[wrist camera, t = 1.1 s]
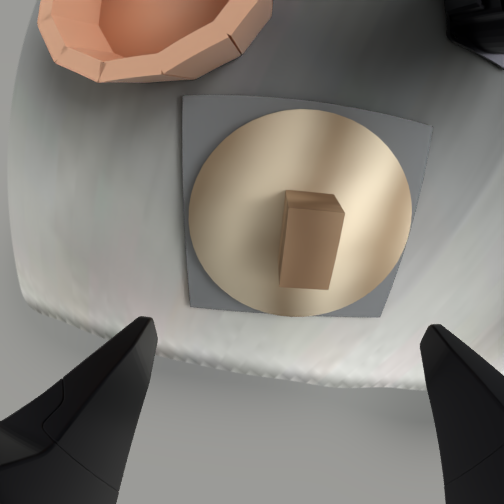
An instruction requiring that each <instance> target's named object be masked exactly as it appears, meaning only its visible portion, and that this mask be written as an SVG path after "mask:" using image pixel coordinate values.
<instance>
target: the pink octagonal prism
mask: <svg viewBox="0 0 504 504" xmlns="http://www.w3.org/2000/svg"><path fill="white" fill-rule="evenodd" d="M272 7H273V0H41V2H40V8H39V15H38V22H37V24H38V28H39V30H40V32H41V34H42V37H43V39H44V41H45V43H46V46H47V48H48V50H49V52H50V54H51V56H52V58H53V61H54V62H56V64H58V65H60V66H62V67H65V68H67V69H69V70H72V71H74V72H76V73H78V74H80V75H83V76H85V77H87V78H89V79H91V80H93V81H95V82H99V83H106V82H135V83H151V82H163V81H178V80H194V79H197V78H199V77H201V76H203V75H204V74H206V73H208V72H210V71H212V70H214V69H216V68H218V67H220V66H221V65H223V64H225V63H227V62H229V61H231V60H233V59H236V58H238V57H240V56H241V54H243V53H244V52H245V51H246V49H247V48H248V47H249V45H250V44H251V43H252V41H253V40H254V39H255V37H256V36H257V35H258V33H259V32H260V31H261V30H262V28H263V27H264V26H265V25H266V23H267V22H268V21H269V19H270V18H271V16H272ZM240 53H241V54H240Z"/></svg>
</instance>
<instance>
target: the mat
mask: <svg viewBox="0 0 504 504" xmlns="http://www.w3.org/2000/svg"><path fill="white" fill-rule="evenodd" d="M293 109H312V110H320V111H325V112H330V113H334V114H337V115H340V116H343V117H346V118H348V119H351V120H353V121H355V122H357V123H359V124H360V125H362V126H364V127H366V128H367V129H368V130H370V131H371V132H372V133H374V134H375V135H376V136H378V137H379V138H380V139H381V140H382V141H383V142H384V143H385V144H386V145H387V146H388V147H389V149H390V150H391V151H392V153H393V154H394V156H395V157H396V158H397V160H398V162H399V164H400V166H401V167H402V169H403V171H404V174H405V177H406V179H407V182H408V185H409V190H410V195H411V205H412V217H411V226H412V223H413V219H414V215H415V212H416V208H417V204H418V200H419V196H420V192H421V187H422V183H423V179H424V174H425V169H426V164H427V159H428V154H429V148H430V143H431V137H432V130H433V126H430V125H426V124H423V123H419V122H416V121H412V120H408V119H404V118H400V117H396V116H392V115H388V114H383V113H379V112H374V111H369V110H364V109H359V108H354V107H348V106H342V105H336V104H329V103H322V102H315V101H307V100H298V99H288V98H277V97H264V96H245V95H183V107H182V166H183V202H184V225H185V243H186V258H187V272H188V284H189V296H190V307H196V308H206V309H216V310H228V311H240V312H254V313H265V312H262V311H259V310H256V309H253V308H251V307H249V306H247V305H245V304H242V303H241V302H239V301H237V300H236V299H234V298H232V297H231V296H230V295H228V294H227V293H226V292H225V291H223V290H222V289H221V288H220V287H219V286H218V285H217V284H216V283H215V282H214V281H213V280H212V279H211V277H210V276H209V275H208V274H207V272H206V271H205V270H204V268H203V266H202V264H201V263H200V261H199V259H198V257H197V255H196V252H195V250H194V247H193V244H192V240H191V236H190V230H189V204H190V198H191V193H192V190H193V187H194V184H195V181H196V178H197V176H198V174H199V172H200V170H201V168H202V166H203V164H204V163H205V162H206V160H207V159H208V157H209V156H210V155H211V153H212V152H213V151H214V150H215V149H216V148H217V146H218V145H219V144H220V143H221V142H222V141H223V140H224V139H225V138H226V137H228V136H229V135H230V134H231V133H233V132H234V131H235V130H237V129H238V128H240V127H241V126H243V125H245V124H247V123H248V122H250V121H252V120H254V119H257V118H259V117H262V116H264V115H267V114H271V113H275V112H279V111H283V110H293ZM411 226H410V230H411ZM409 233H410V231H409ZM408 237H409V235H408ZM407 240H408V239H407ZM406 243H407V242H406ZM405 246H406V245H405ZM404 250H405V247H404ZM404 250H403V252H402V254H401V256H400V258H399V260H398V262H397V263H396V265H395V266H394V268H393V269H392V270H391V272H390V273H389V274H388V275H387V277H386V278H385V279H384V280H383V281H382V282H381V283H380V284H379V285H378V286H377V287H376V288H375V289H373V290H372V291H371V292H370V293H368V294H367V295H365V296H364V297H363V298H361V299H359V300H357V301H356V302H354V303H352V304H350V305H348V306H346V307H343V308H341V309H338V310H335V311H332V312H329V313H325V314H320V315H314V316H331V317H380V316H381V314H382V311H383V309H384V306H385V304H386V301H387V298H388V296H389V293H390V290H391V288H392V285H393V282H394V279H395V277H396V274H397V271H398V268H399V265H400V262H401V259H402V256H403V253H404ZM268 314H269V313H268Z"/></svg>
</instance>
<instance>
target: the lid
mask: <svg viewBox="0 0 504 504" xmlns="http://www.w3.org/2000/svg"><path fill="white" fill-rule="evenodd" d="M411 217H412V205H411V195H410V190H409V185H408V182H407V179H406V177H405V174H404V171H403V169H402V167H401V166H400V164H399V162H398V160H397V158H396V157H395V156H394V154H393V153H392V151H391V150H390V149H389V147H388V146H387V145H386V144H385V143H384V142H383V141H382V140H381V139H380V138H379V137H378V136H376V135H375V134H374V133H372V132H371V131H370V130H368V129H367V128H366V127H364V126H362V125H360V124H359V123H357V122H355V121H353V120H351V119H348V118H346V117H343V116H340V115H337V114H334V113H330V112H325V111H320V110H312V109H293V110H283V111H279V112H275V113H271V114H267V115H264V116H262V117H259V118H257V119H254V120H252V121H250V122H248V123H247V124H245V125H243V126H241V127H240V128H238V129H237V130H235V131H234V132H233V133H231V134H230V135H229V136H228V137H226V138H225V139H224V140H223V141H222V142H221V143H220V144H219V145H218V146H217V148H216V149H215V150H214V151H213V152H212V153H211V155H210V156H209V157H208V159H207V160H206V162H205V163H204V164H203V166H202V168H201V170H200V172H199V174H198V176H197V178H196V181H195V184H194V187H193V190H192V193H191V198H190V204H189V230H190V236H191V240H192V244H193V247H194V250H195V252H196V255H197V257H198V259H199V261H200V263H201V264H202V266H203V268H204V270H205V271H206V272H207V274H208V275H209V276H210V277H211V279H212V280H213V281H214V282H215V283H216V284H217V285H218V286H219V287H220V288H221V289H222V290H223V291H225V292H226V293H227V294H228V295H230V296H231V297H232V298H234V299H236V300H237V301H239V302H241V303H242V304H245V305H247V306H249V307H251V308H253V309H256V310H259V311H262V312H265V313H269V314H274V315H280V316H289V317H305V316H314V315H320V314H325V313H329V312H332V311H335V310H338V309H341V308H343V307H346V306H348V305H350V304H352V303H354V302H356V301H357V300H359V299H361V298H363V297H364V296H365V295H367V294H368V293H370V292H371V291H372V290H373V289H375V288H376V287H377V286H378V285H379V284H380V283H381V282H382V281H383V280H384V279H385V278H386V277H387V275H388V274H389V273H390V272H391V270H392V269H393V268H394V266H395V265H396V263H397V262H398V260H399V258H400V256H401V254H402V252H403V250H404V247H405V245H406V242H407V239H408V235H409V231H410V226H411Z"/></svg>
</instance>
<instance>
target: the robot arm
mask: <svg viewBox="0 0 504 504" xmlns="http://www.w3.org/2000/svg"><path fill="white" fill-rule="evenodd" d="M445 11H446V16H447V37H448V39H449V40H450V41H451V42H453V43H455V44H457V45H459V46H462V47H464V48H466V49H468V50H470V51H472V52H474V53H476V54H477V55H479V56H481V57H483V58H485V59H487V60H488V61H490V62H492V63H494V64H495V65H497V66H499V67H500V68H502V69H504V0H445ZM453 34H454V35H455V38H454V37H453ZM157 341H158V337H157V333H156V329H155V325H154V321H153V319H152V318H151V317H144V316H140V317H138V318H137V319H135V320H134V321H133V322H132V323H130V324H129V325H128V326H126V327H125V328H124V329H123V330H121V331H120V332H119V333H118V334H116V335H115V336H114V337H113V338H111V339H110V340H109V341H108V342H106V343H105V344H104V345H103V346H101V347H100V348H99V349H98V350H96V351H95V352H94V353H93V354H91V355H90V356H89V357H88V358H86V359H85V360H84V361H83V362H81V363H80V364H79V365H78V366H76V367H75V368H74V369H73V370H72V371H70V372H69V373H68V374H67V375H65V376H64V377H63V379H60V380H59V381H58V382H57V383H55V384H54V385H53V386H52V387H50V388H49V389H48V390H47V391H45V392H44V393H43V394H41V395H40V396H38V397H37V398H35V399H34V400H33V401H31V402H30V403H28V404H27V405H25V406H24V407H22V408H21V409H19V410H18V411H16V412H15V413H13V414H12V415H10V416H9V417H7V418H5V419H4V420H2V421H0V504H116V502H117V498H118V494H119V492H118V491H119V489H120V485H121V481H122V477H123V473H124V469H125V465H126V462H127V457H128V454H129V451H130V447H131V443H132V440H133V436H134V433H135V429H136V426H137V422H138V419H139V415H140V412H141V409H142V405H143V402H144V399H145V395H146V392H147V389H148V386H149V382H150V377H151V372H152V367H153V361H154V356H155V351H156V347H157ZM420 351H421V356H422V362H423V368H424V374H425V381H426V386H427V391H428V395H429V399H430V403H431V408H432V412H433V417H434V422H435V427H436V432H437V438H438V444H439V450H440V456H441V463H442V470H443V479H444V485H445V486H444V489H445V500H446V504H504V376H503V375H502V374H501V373H500V372H499V371H498V370H496V369H495V368H494V367H493V366H492V365H490V364H489V363H488V362H487V361H486V360H484V359H483V358H482V357H481V356H480V355H478V354H477V353H476V352H475V351H474V350H472V349H471V348H470V347H469V346H467V345H466V344H465V343H464V342H462V341H461V340H460V339H459V338H457V337H456V336H455V335H454V334H452V333H451V332H450V331H449V330H447V329H446V328H445V327H443V326H442V325H441V324H432V325H430V326H429V327H428V328H427V330H426V332H425V334H424V336H423V338H422V340H421V343H420Z"/></svg>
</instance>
